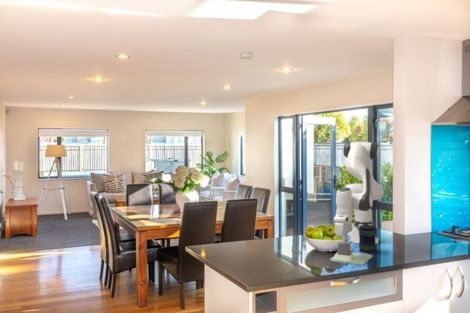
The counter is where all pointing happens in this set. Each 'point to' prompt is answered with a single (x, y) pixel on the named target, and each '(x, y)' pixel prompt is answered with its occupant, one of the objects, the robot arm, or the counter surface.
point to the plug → (344, 248)
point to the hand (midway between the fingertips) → (344, 241)
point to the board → (352, 258)
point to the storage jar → (367, 239)
